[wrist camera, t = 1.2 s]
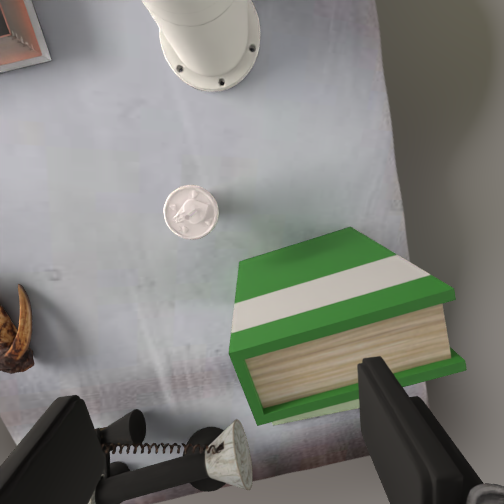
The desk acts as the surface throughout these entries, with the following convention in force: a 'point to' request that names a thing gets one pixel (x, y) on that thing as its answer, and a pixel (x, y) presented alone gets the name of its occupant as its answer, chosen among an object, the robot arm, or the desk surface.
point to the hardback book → (334, 323)
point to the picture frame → (20, 36)
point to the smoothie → (191, 212)
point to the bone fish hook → (16, 338)
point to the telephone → (172, 461)
